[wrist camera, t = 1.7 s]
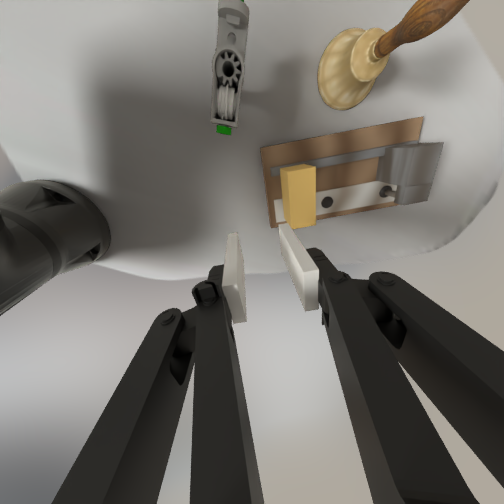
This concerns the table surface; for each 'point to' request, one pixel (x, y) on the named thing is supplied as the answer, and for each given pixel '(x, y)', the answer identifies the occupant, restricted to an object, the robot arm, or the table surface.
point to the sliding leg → (299, 195)
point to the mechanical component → (229, 64)
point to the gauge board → (356, 169)
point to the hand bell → (375, 51)
